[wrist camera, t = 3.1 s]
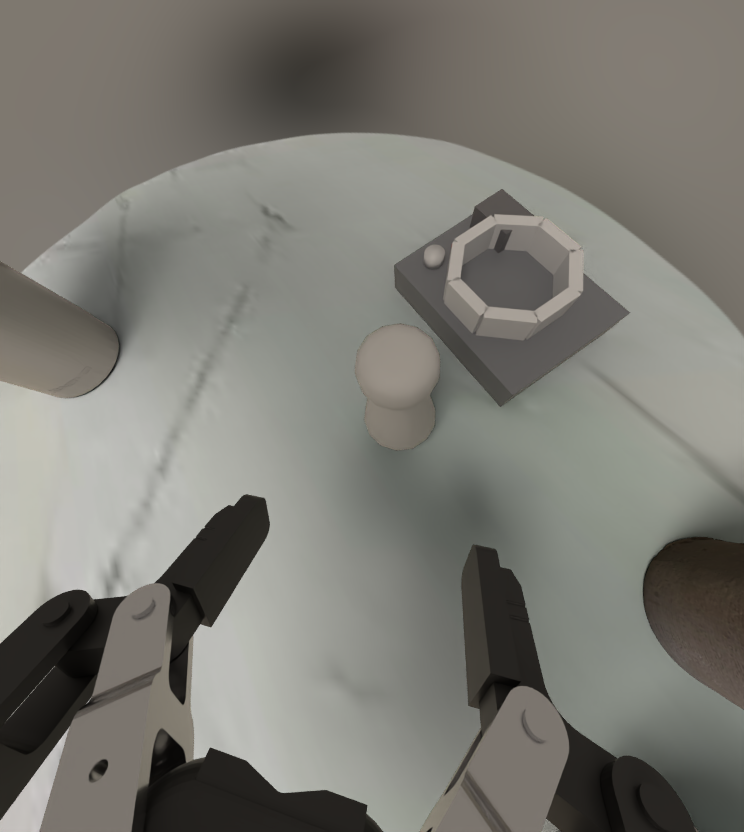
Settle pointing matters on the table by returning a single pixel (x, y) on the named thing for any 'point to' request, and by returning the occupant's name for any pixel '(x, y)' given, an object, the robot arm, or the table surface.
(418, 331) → the salt shaker
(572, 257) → the octagon ring base
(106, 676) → the robot arm
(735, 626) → the pillar candle
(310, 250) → the table surface
